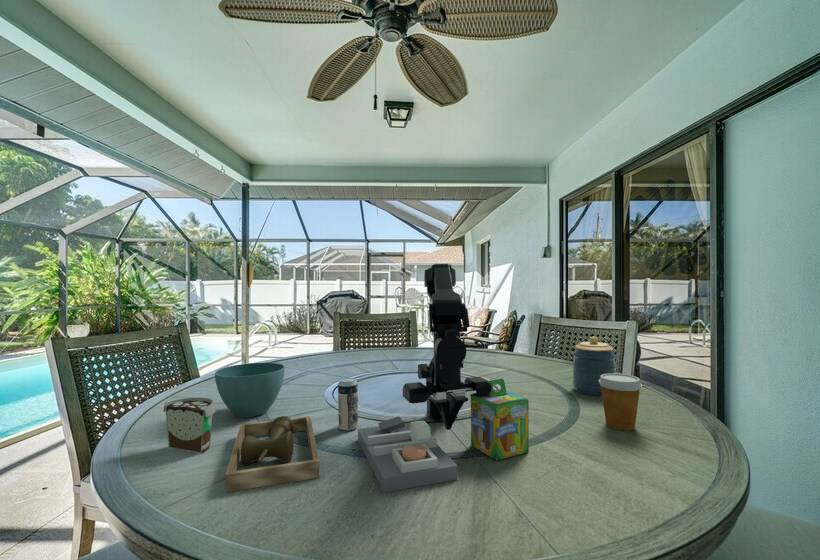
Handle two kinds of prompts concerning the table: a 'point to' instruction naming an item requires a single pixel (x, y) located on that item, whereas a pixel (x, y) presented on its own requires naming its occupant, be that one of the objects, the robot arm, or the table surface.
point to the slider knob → (419, 430)
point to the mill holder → (276, 472)
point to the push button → (413, 452)
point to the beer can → (348, 404)
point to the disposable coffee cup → (620, 400)
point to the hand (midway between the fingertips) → (448, 429)
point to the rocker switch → (391, 424)
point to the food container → (189, 423)
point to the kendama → (270, 443)
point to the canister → (592, 365)
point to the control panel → (392, 467)
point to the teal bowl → (250, 387)
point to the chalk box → (500, 422)
